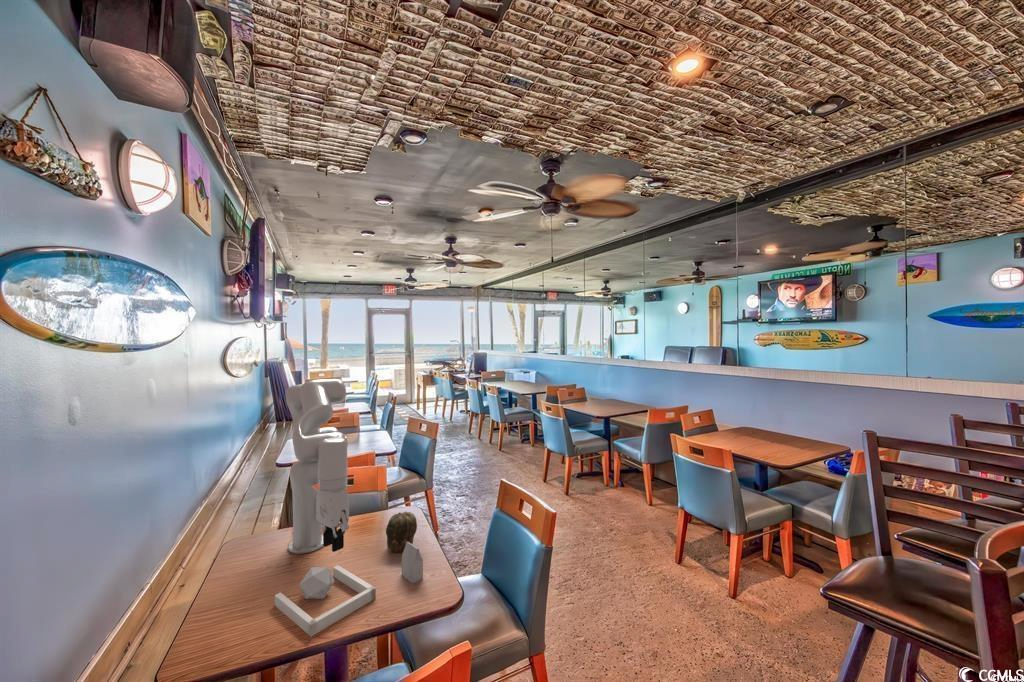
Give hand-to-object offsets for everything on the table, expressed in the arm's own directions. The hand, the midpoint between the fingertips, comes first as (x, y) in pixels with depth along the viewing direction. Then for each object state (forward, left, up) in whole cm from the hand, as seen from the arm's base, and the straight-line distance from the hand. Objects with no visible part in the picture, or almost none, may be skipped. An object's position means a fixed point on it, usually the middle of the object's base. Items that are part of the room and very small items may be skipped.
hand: (333, 546), depth 114 cm
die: (-9, 0, -18) cm, 20 cm away
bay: (-4, 0, -17) cm, 18 cm away
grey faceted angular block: (+6, +23, -18) cm, 30 cm away
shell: (-12, +33, -17) cm, 39 cm away
